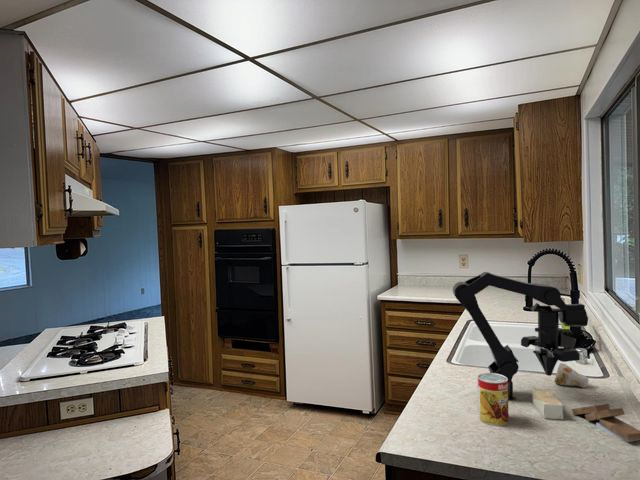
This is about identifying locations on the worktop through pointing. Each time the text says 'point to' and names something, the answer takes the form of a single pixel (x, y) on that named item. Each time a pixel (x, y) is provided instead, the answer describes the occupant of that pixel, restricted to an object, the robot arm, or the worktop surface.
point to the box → (547, 404)
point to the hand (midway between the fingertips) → (548, 375)
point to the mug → (570, 377)
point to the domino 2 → (605, 414)
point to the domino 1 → (590, 409)
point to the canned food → (493, 399)
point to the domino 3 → (611, 432)
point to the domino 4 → (620, 428)
